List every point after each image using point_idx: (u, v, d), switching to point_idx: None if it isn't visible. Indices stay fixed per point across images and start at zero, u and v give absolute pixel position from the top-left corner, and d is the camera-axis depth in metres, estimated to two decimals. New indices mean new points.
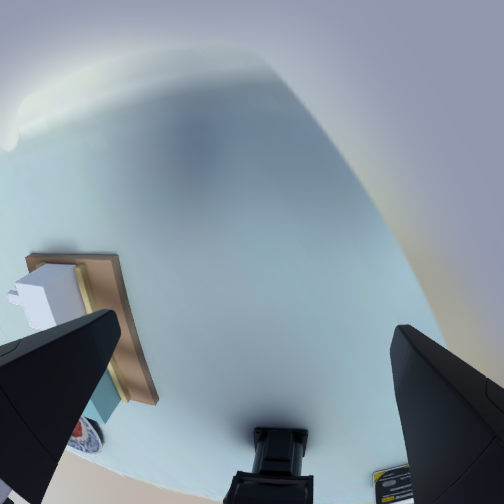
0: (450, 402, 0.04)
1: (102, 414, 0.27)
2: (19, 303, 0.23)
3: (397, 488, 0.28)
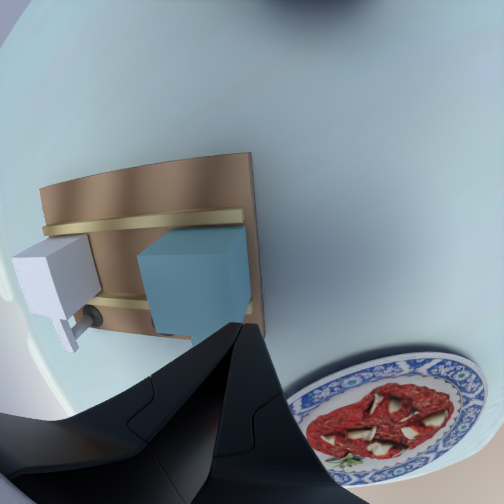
0: None
1: (201, 250, 0.15)
2: (62, 330, 0.20)
3: None
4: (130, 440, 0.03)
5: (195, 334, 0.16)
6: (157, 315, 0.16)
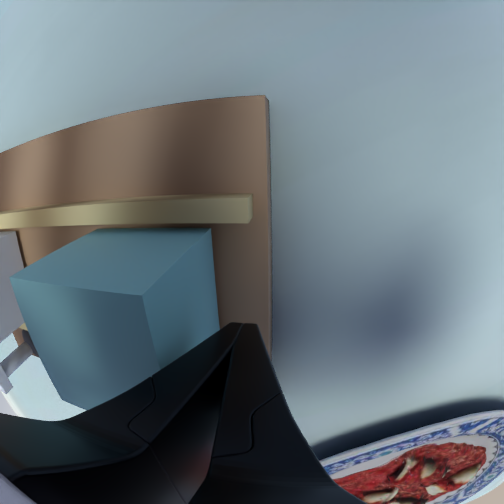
0: None
1: (102, 280, 0.06)
2: None
3: None
4: (131, 440, 0.03)
5: None
6: (55, 378, 0.08)
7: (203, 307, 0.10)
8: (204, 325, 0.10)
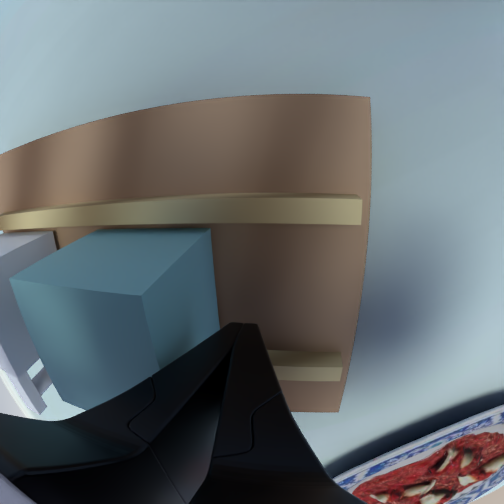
0: None
1: (102, 280, 0.06)
2: (19, 384, 0.10)
3: None
4: (131, 440, 0.03)
5: None
6: (56, 378, 0.08)
7: (203, 307, 0.10)
8: (204, 325, 0.10)
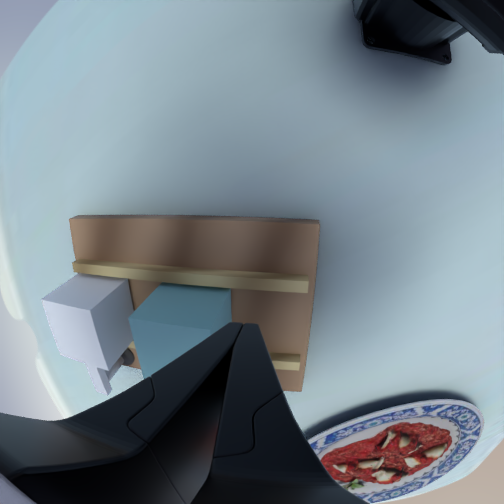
0: None
1: (188, 321, 0.16)
2: (97, 375, 0.19)
3: None
4: (130, 440, 0.03)
5: None
6: (145, 367, 0.17)
7: None
8: None
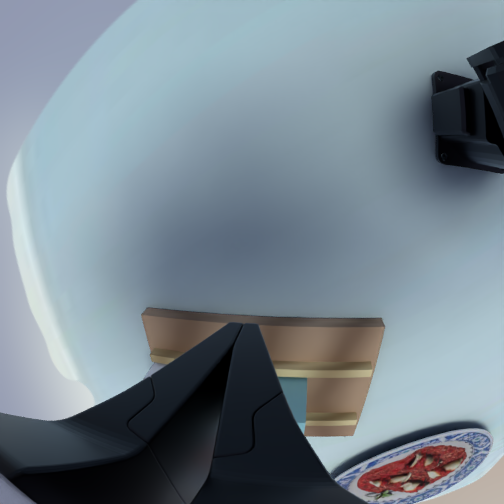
0: None
1: None
2: None
3: None
4: (130, 440, 0.03)
5: None
6: None
7: None
8: None
